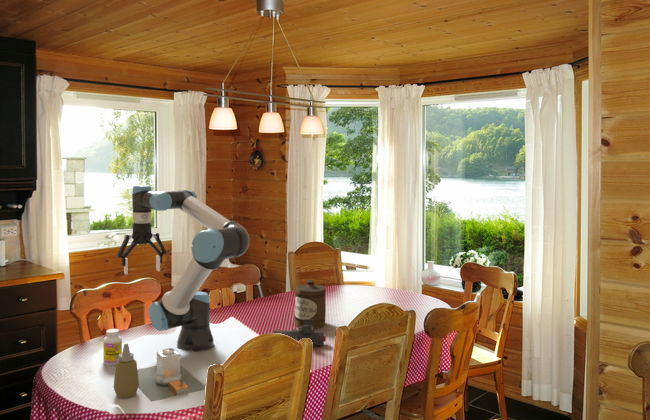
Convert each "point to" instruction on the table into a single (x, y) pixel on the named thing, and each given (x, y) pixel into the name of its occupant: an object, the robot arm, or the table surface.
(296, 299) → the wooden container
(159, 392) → the mat
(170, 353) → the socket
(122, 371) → the squeeze bottle
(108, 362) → the supplement bottle
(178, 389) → the grey copper fixture base
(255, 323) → the table surface
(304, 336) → the laser sight
